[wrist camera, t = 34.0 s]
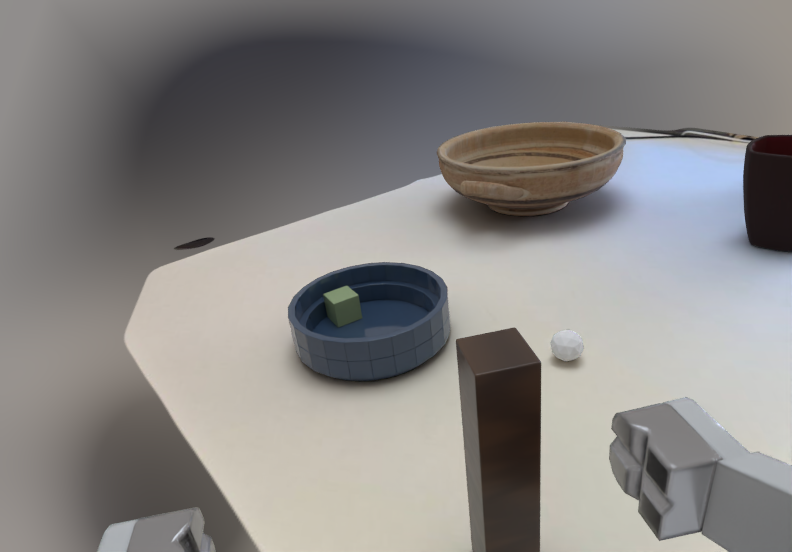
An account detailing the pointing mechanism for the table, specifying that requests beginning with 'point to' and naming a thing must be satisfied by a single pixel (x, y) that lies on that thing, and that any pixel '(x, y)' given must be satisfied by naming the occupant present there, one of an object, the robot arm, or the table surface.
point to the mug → (769, 192)
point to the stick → (501, 439)
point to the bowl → (372, 322)
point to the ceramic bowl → (531, 165)
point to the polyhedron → (567, 345)
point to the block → (342, 306)
